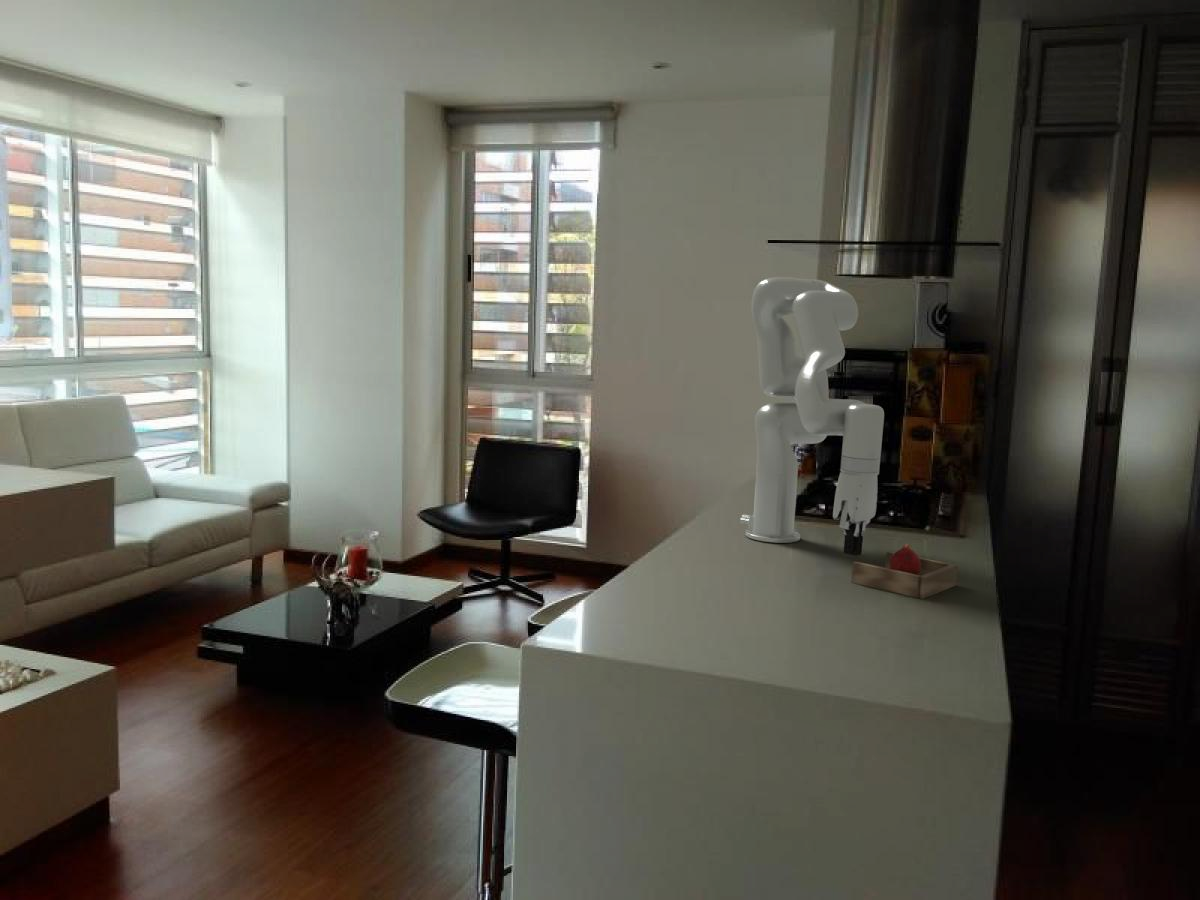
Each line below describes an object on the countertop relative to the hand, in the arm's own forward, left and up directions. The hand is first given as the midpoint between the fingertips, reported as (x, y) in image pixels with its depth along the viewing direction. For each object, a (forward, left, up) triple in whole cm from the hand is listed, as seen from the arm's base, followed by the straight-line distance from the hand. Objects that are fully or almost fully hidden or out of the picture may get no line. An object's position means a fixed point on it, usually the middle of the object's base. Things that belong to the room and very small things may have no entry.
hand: (852, 553), depth 195 cm
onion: (+12, 0, -4) cm, 12 cm away
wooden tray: (+11, 0, -4) cm, 12 cm away
